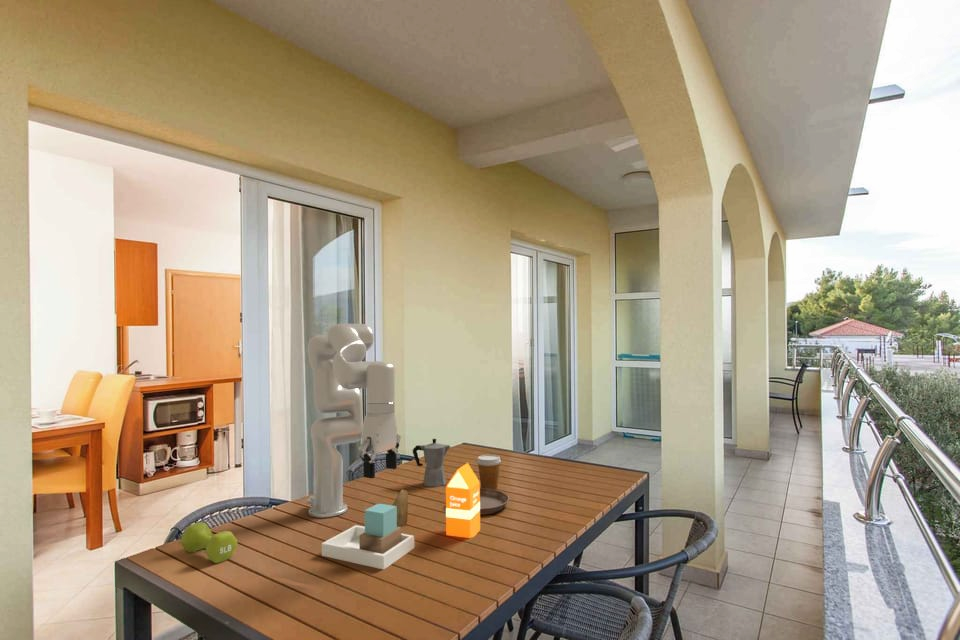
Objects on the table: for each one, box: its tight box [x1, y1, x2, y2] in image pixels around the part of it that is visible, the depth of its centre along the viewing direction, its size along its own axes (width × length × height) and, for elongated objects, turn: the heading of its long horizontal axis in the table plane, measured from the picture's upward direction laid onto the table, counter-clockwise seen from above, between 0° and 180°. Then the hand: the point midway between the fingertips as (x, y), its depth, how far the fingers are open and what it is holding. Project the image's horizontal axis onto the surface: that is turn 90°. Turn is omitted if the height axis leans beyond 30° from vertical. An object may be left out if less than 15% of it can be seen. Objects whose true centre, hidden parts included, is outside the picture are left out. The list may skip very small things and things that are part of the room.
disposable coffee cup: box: [476, 454, 502, 490], centre depth 190 cm, size 10×10×12 cm
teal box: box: [364, 503, 398, 537], centre depth 131 cm, size 6×6×6 cm
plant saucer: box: [480, 488, 510, 516], centre depth 170 cm, size 21×21×3 cm
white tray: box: [321, 524, 415, 571], centre depth 132 cm, size 20×14×4 cm
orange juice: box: [445, 462, 481, 539], centre depth 146 cm, size 8×9×20 cm
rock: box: [391, 488, 409, 528], centre depth 154 cm, size 11×9×10 cm
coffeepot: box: [412, 438, 451, 488], centre depth 198 cm, size 15×9×18 cm, turn 102°
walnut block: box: [360, 526, 402, 554], centre depth 130 cm, size 7×9×6 cm
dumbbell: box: [179, 521, 238, 564], centre depth 133 cm, size 16×8×7 cm, turn 57°
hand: (380, 472), depth 131 cm, fingers open, 9 cm apart
